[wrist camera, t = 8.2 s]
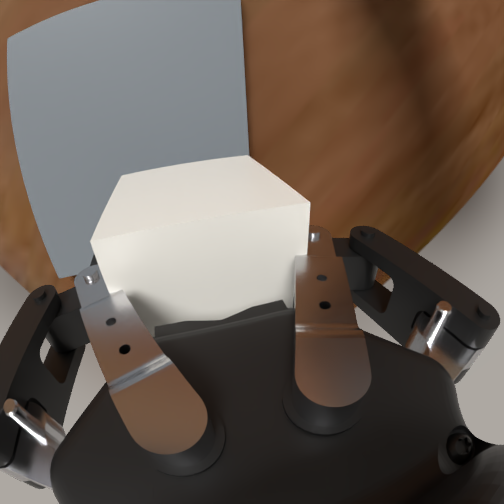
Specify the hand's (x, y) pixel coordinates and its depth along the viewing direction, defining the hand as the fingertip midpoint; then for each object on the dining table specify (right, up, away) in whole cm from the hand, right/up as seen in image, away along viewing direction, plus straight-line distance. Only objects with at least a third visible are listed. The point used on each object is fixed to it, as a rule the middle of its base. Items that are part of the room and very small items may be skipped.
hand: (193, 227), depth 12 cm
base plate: (-5, +7, +3) cm, 9 cm away
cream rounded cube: (0, 0, +1) cm, 1 cm away
